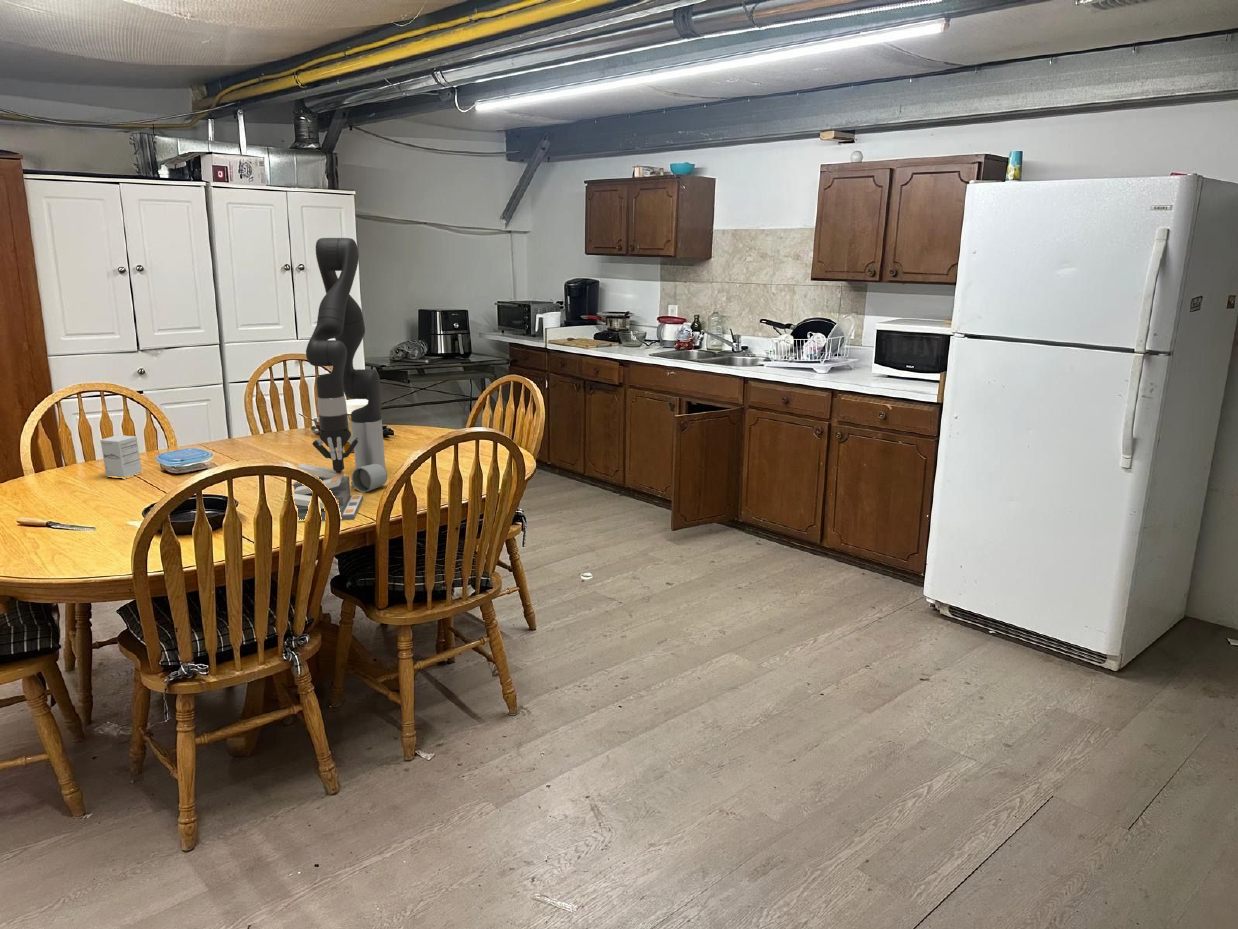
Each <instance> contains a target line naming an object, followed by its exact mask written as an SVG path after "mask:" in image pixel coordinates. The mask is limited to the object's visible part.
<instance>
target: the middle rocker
mask: <svg viewBox="0 0 1238 929" xmlns="http://www.w3.org/2000/svg"><path fill="white" fill-rule="evenodd" d="M322 482H323V483H325V485H326V486H327V487H328V488H333V487H337V486H339V485H340V483H341V480H340V477H339V476H337V477H333V478H331V479H327V480H323V481H322ZM309 493H312V491H311V490H310V489H309V488H308V487H306V486H300V487H297V488H296V489H295V491H294V490H293V494H300V495H305V494H309Z"/></svg>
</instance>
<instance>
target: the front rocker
mask: <svg viewBox="0 0 1238 929" xmlns="http://www.w3.org/2000/svg"><path fill="white" fill-rule="evenodd" d="M292 495H294V501H295V505H302V506H308V505H309V503H310V500H311V496H307V495H300V494H294V493H292ZM336 501H337V503H338V502H339V500H337V499H336ZM319 503H320V508H323V504H322V502H321V500H320V501H319ZM323 509H324V508H323Z"/></svg>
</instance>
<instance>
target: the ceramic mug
mask: <svg viewBox="0 0 1238 929" xmlns="http://www.w3.org/2000/svg"><path fill="white" fill-rule="evenodd" d="M385 468H386V467H385ZM385 468H384V467H383V466H382V465H379V464H371V465H367V466H363V467H358V468H356V467H355V469H354V471H352V474H351V480H352V481H350V484H351V487H352V488H355V490H357V491H358V492H360V493H369V492H371V491H373V490H375V489H378V488H380V487H383V486H384V485H385V484H386V482H387V480H388V473H387V472H388V471H387V469H386V470H385Z"/></svg>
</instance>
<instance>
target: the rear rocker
mask: <svg viewBox="0 0 1238 929" xmlns="http://www.w3.org/2000/svg"><path fill="white" fill-rule="evenodd" d="M298 468H300V469H303V470H305V471H307V472H310V473H312V475H311V476H313V475H314V477H324V478H329V479H331V478H333V477H337V476H339V477H340V480H342V478H343V476H345V475H344V474H345V470H342V472H338V473H336V471H334V470H333V468H328V467H323V466H322V467H321V466H317V465H311V464H307V463H302V462H301V463H300V464H299V465H298V466H297V469H298Z"/></svg>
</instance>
